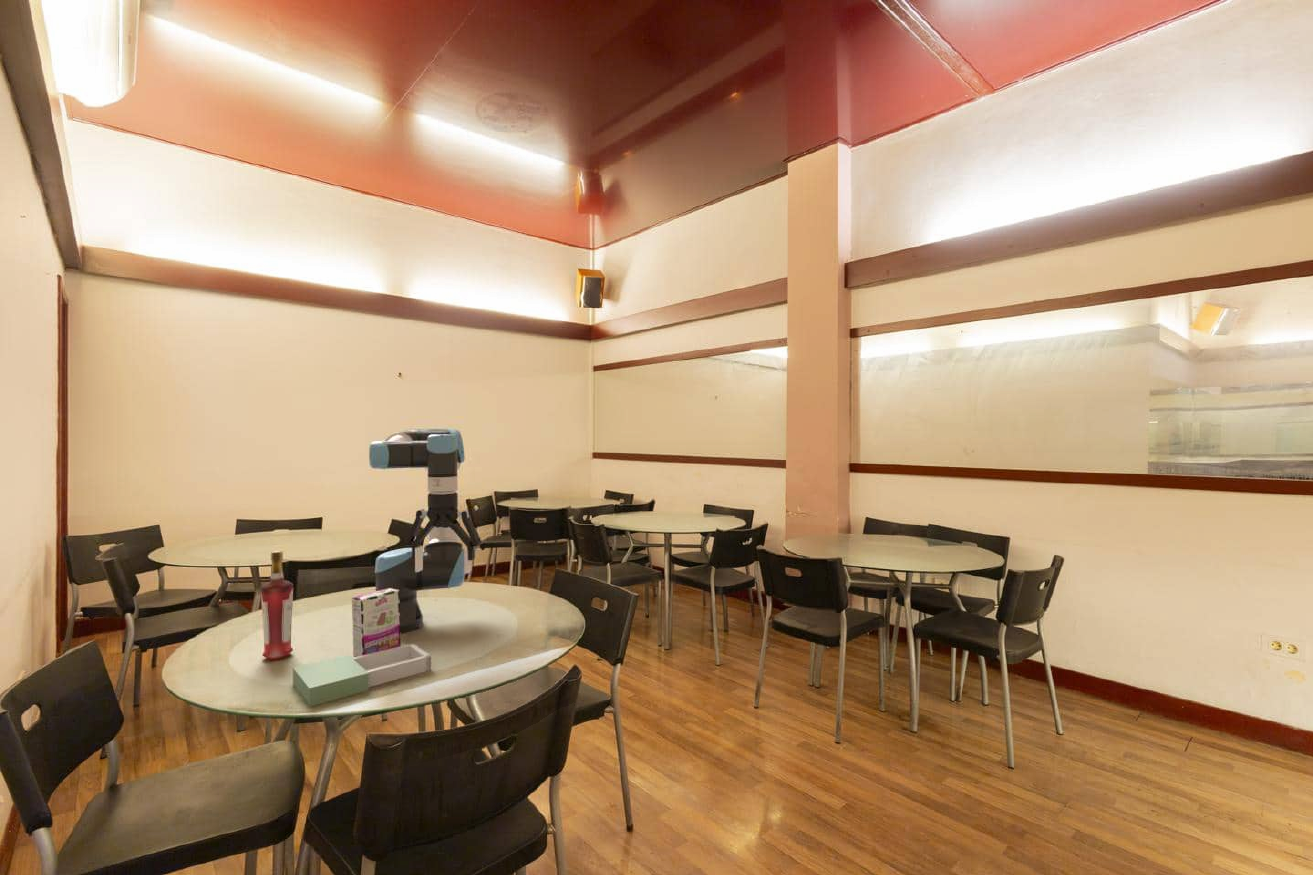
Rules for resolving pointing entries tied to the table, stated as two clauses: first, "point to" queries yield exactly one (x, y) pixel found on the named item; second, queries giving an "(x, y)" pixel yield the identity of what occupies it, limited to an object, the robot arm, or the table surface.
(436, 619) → the table surface
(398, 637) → the candy bar box
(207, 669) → the table surface
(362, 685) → the sliding drawer box
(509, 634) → the table surface
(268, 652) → the liquor
